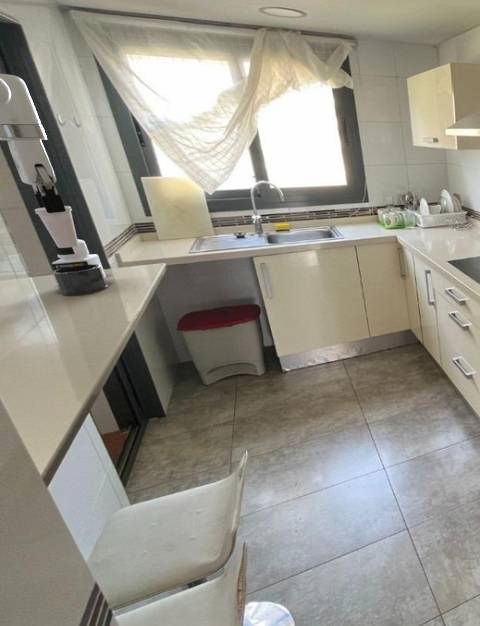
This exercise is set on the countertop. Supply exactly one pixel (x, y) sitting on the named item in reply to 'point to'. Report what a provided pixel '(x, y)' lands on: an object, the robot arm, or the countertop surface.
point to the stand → (80, 279)
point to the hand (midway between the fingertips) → (53, 210)
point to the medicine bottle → (75, 256)
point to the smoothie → (60, 226)
